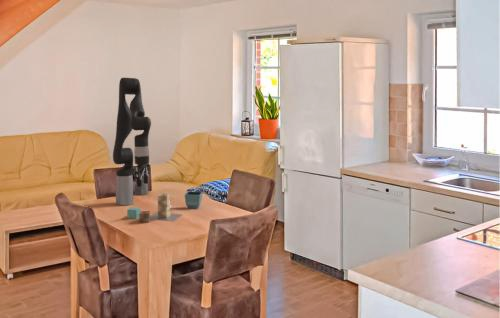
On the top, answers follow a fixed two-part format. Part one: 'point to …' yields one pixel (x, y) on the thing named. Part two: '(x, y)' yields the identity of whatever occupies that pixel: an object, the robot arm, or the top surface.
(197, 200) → the flower pot
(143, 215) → the walnut block
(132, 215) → the teal block
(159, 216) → the tower base block
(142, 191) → the coffeepot
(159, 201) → the tower top block
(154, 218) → the slate board
